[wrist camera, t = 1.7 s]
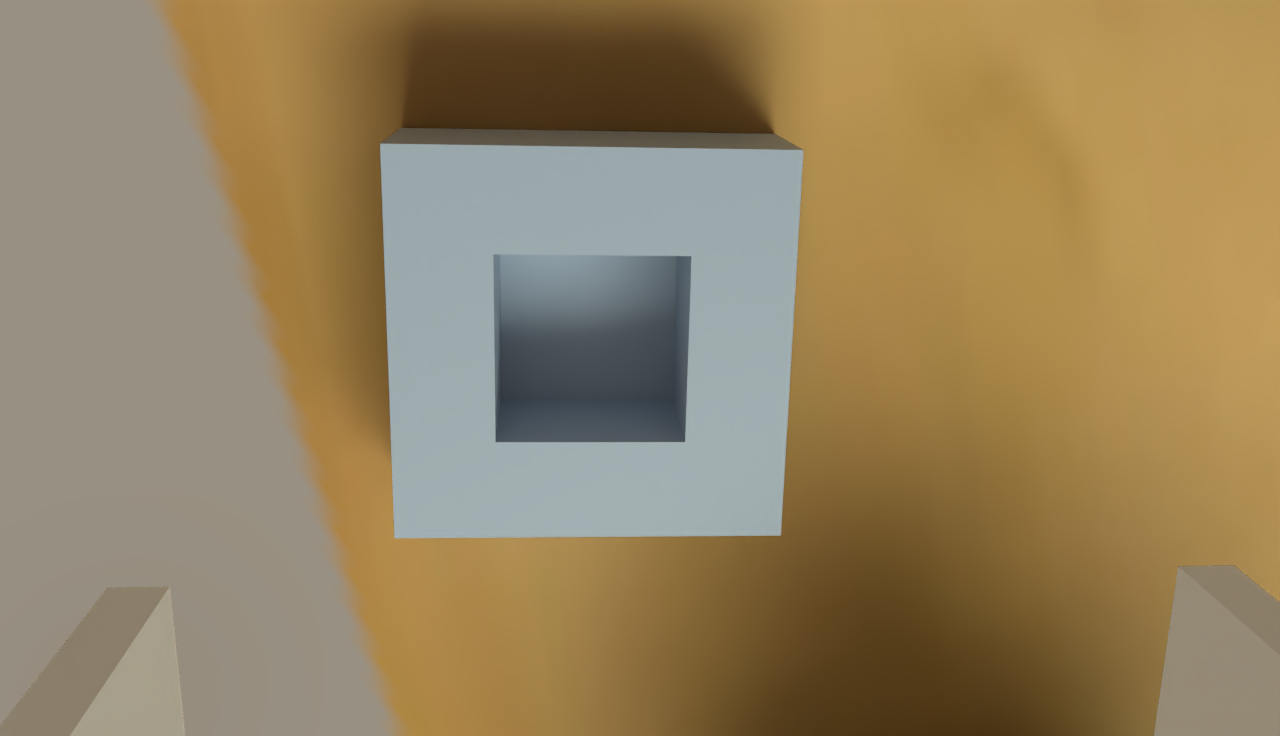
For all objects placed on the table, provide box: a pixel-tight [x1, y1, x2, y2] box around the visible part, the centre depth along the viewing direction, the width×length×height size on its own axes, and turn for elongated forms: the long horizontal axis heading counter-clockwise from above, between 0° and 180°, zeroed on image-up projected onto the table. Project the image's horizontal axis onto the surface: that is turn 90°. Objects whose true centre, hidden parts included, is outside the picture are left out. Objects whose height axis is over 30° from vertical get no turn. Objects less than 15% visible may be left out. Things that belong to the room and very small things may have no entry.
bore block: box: [380, 128, 803, 538], centre depth 32 cm, size 10×10×4 cm
